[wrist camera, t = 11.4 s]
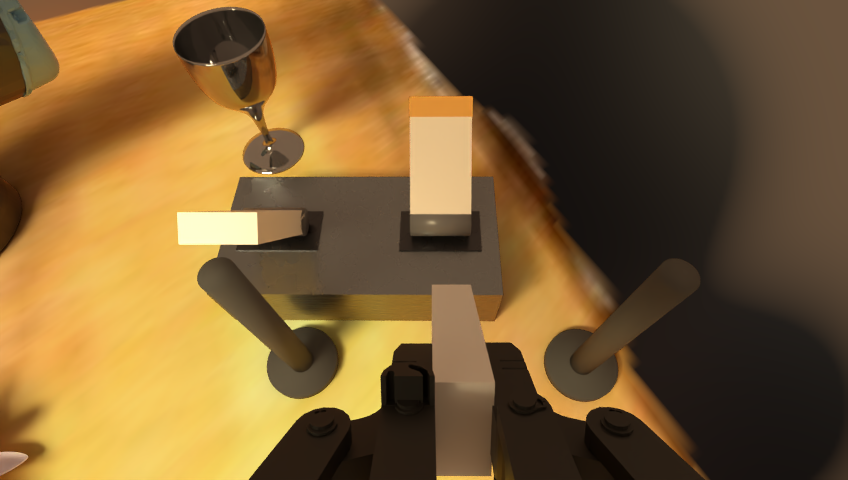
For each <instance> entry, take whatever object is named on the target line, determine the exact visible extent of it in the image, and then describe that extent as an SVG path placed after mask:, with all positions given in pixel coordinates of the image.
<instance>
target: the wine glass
mask: <svg viewBox="0 0 848 480" xmlns="http://www.w3.org/2000/svg"><path fill="white" fill-rule="evenodd" d="M173 47H174V50H175V52H176V54H177V55H178V57H179V59H180V61H181V62H182V64H183V66H184V67H185V69H186V70H187V72H188V73H189V75H190V76H191V78H192V79H193V80H194V82H195V83H196V84H197V85H198V87H199V88H200V89H201V90H202V91H203V92H204V93H205V94H206V95H207V96H208V97H209V98H210V99H211V100H213V101H214V102H215V103H216V104H218V105H220V106H222V107H224V108H227V109H230V110H234V111H238V112H242V113H245V114H247V115H248V116H250V117H251V118H252V119H253V121H254V122H255V124H256V125H257V127H258V128H259V130H260V131H261V132H260V133H258V134H256V135H255V136H254V137H252V138H251V139H250V140H249V141H248V142H247V144H246V146H245V147H244V150H243V161H244V163H245V165H246V166H247V167H248V168H249V169H250V170H252V171H253V172H256V173H259V174H276V173H280V172H283V171H285V170H287V169H289V168H291V167H292V166H294V165H295V164H296V163H297V162H298V161H299V159H300V158H301V156H302V154H303V151H304V143H303V140H302V138H301V137H300V136H299V135H298V134H297V133H296V132H294V131H292V130H289V129H285V128H272V129H267V126H266V122H265V119H264V114H263V110H264V106H265V104H266V103H267V101H268V99H269V98H270V96H271V95H272V93H273V91H274V88H275V86H276V78H277V72H276V63H275V57H274V52H273V48H272V44H271V41H270V38H269V35H268V32H267V29H266V27H265V24H264V22H263V20H262V18H261V17H260V16H259V15H258V14H256V13H255V12H253V11H250V10H248V9H244V8H238V7H222V8H216V9H211V10H208V11H205V12H202V13H200V14H197V15H195V16H193V17H192V18H190V19H189V20H187V21H186V22H185V23H183V24H182V25H181V26H180V27H179V29H178V30H177V31H176V33H175V35H174V38H173Z"/></svg>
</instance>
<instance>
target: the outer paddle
mask: <svg viewBox="0 0 848 480" xmlns="http://www.w3.org/2000/svg"><path fill="white" fill-rule="evenodd" d="M472 117H473V96H427V97H409V118H410V235H411V236H470V235H471V171H472Z"/></svg>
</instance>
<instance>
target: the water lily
mask: <svg viewBox="0 0 848 480" xmlns="http://www.w3.org/2000/svg"><path fill="white" fill-rule="evenodd" d="M28 457H29V456H28V455H26V454H24V453H20V452H0V476H1V475H3V474H5V473H7V472H9V471H11V470H12V469H14V468H16V467H17V466H19V465H20V464H22V463H23V462H24V461H25V460H27V458H28Z"/></svg>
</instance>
